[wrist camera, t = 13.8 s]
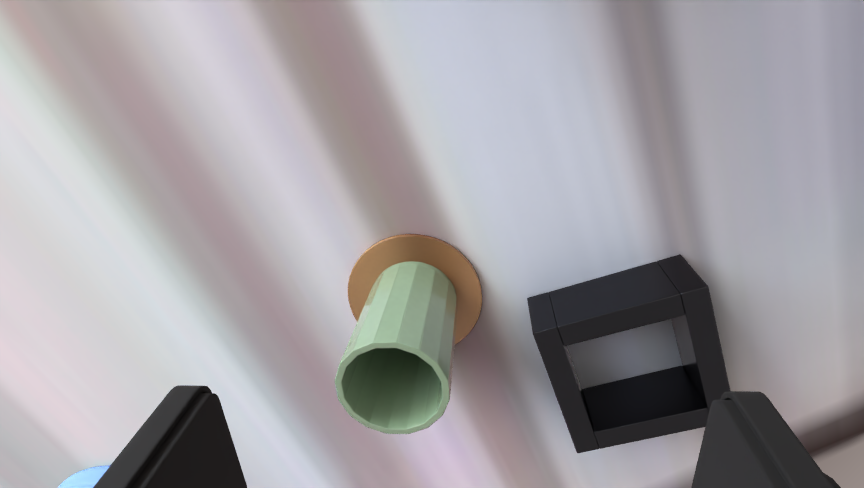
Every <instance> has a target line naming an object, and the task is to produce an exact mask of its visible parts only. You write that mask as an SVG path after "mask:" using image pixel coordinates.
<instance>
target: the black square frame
mask: <svg viewBox="0 0 864 488" xmlns="http://www.w3.org/2000/svg"><path fill="white" fill-rule="evenodd" d="M527 300H528V306H529V312H530V318H531V325H532V331H533V335H534V338H535V341H536V343H537V346H538V349H539V351H540V354H541V357H542V359H543V362H544V365H545V368H546V370H547V373H548V376H549V378H550V381H551V384H552V386H553V389H554V392H555V395H556V397H557V400H558V403H559V405H560V408H561V411H562V414H563V416H564V419H565V422H566V424H567V427H568V430H569V432H570V435H571V438H572V441H573V443H574V446H575V449H576V451H577V453H581V452H586V451H591V450H596V449H599V448H600V449H601V448H605V447H610V446H615V445H620V444H625V443H629V442H634V441H639V440H644V439H649V438H653V437H658V436H663V435H668V434H673V433H678V432H682V431H687V430H692V429H697V428H702V427H706V424H707V419H708V415H709V411H710V406H711V403H712V401H713V400H720V398H721V396H722V394H723V393H724V392H728V391H730V387H729V383H728V378H727V373H726V368H725V363H724V359H723V354H722V349H721V344H720V340H719V335H718V330H717V325H716V321H715V316H714V311H713V306H712V302H711V297H710V292H709V287H708V286H707V285H706V283H705V282H704V281H703V280H702V279H701V278H700V276H699V275H698V274H697V273H696V272H695V271H694V270H693V268H692V267H691V266H690V265H689V264H688V263H687V261H686V260H685V259H684V258H683V257H682V256H681V255H677V256H673V257H670V258H666V259H663V260H659V261H657V262H653V263H649V264H646V265H642V266H639V267H635V268H632V269H628V270H625V271H621V272H618V273H614V274H611V275H607V276H604V277H600V278H597V279H593V280H590V281H586V282H583V283H579V284H576V285H572V286H569V287H565V288H562V289H558V290H555V291H551V292H549V293H548V292H547V293H544V294H540V295H537V296H533V297H530V298H527ZM667 319H671V321H672V325H673V329H674V333H675V337H676V341H677V345H678V349H679V353H680V357H681V361H682V365H683V366H678V367H674V368H670V369H666V370H662V371H657V372H653V373H649V374H645V375H640V376H636V377H632V378H628V379H624V380H619V381H615V382H611V383H607V384H602V385H598V386H594V387H590V388H586V389H582V388H581V385H580V382H579V379H578V376H577V373H576V371H575V368H574V365H573V362H572V359H571V356H570V353H569V350H568V347H567V345H571V344H575V343H579V342H582V341H586V340H590V339H594V338H598V337H602V336H606V335H609V334H613V333H617V332H621V331H625V330H629V329H633V328H637V327H640V326H644V325H648V324H652V323H656V322H660V321H664V320H667Z"/></svg>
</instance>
